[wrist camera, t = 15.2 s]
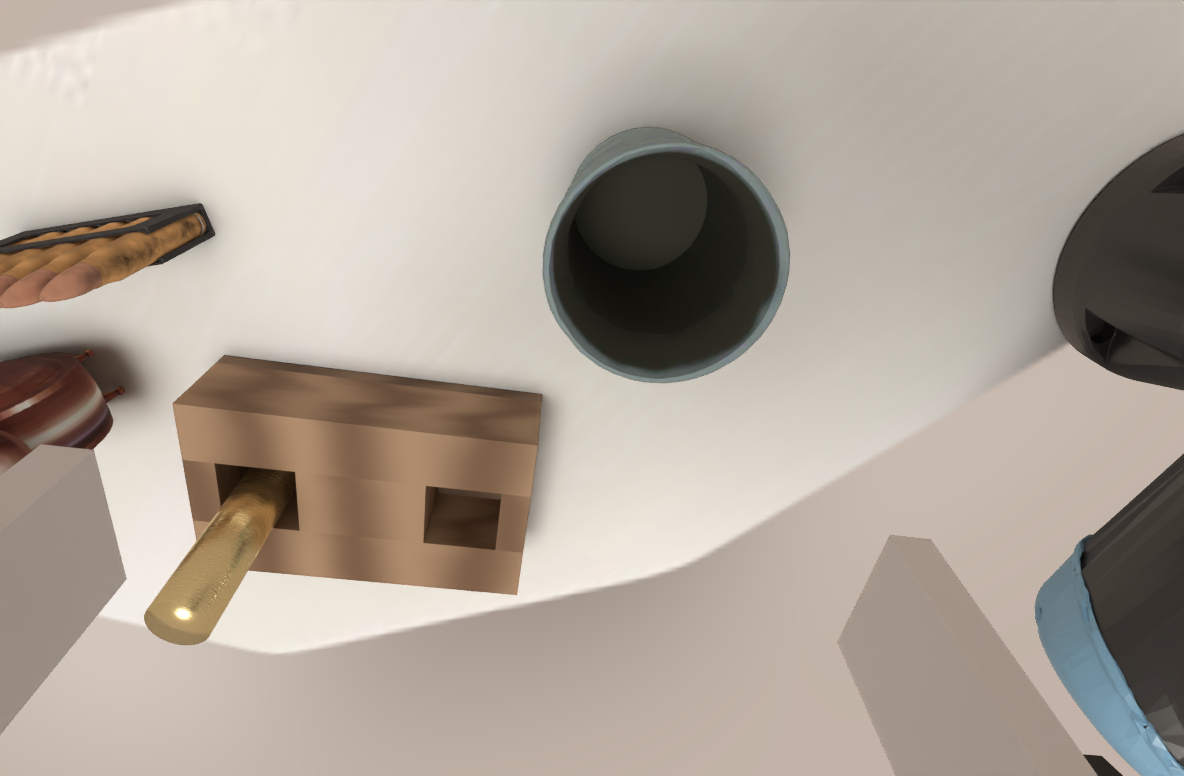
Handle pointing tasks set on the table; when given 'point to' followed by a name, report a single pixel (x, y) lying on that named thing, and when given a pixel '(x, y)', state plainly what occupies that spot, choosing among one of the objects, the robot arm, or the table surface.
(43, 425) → the alarm clock
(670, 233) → the grey-green cup
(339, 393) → the walnut hole block
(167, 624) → the brass pin
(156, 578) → the table surface
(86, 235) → the ammunition clip
